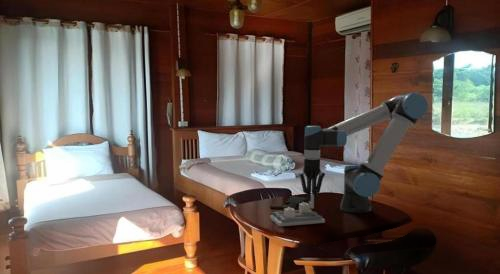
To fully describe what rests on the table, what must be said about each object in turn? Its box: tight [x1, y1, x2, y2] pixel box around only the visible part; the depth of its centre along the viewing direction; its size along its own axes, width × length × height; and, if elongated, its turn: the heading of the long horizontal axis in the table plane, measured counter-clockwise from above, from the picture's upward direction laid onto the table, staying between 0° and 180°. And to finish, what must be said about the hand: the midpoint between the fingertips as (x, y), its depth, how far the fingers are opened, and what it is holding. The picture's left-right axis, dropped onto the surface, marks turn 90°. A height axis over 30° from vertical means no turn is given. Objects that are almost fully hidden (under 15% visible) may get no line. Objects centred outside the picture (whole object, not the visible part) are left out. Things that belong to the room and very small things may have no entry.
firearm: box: [269, 196, 307, 210], centre depth 220 cm, size 28×2×15 cm
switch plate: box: [269, 208, 326, 227], centre depth 188 cm, size 22×13×3 cm, turn 105°
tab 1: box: [283, 207, 296, 219], centre depth 183 cm, size 4×3×6 cm
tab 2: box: [298, 201, 311, 213], centre depth 192 cm, size 4×3×6 cm
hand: (311, 207), depth 193 cm, fingers closed
